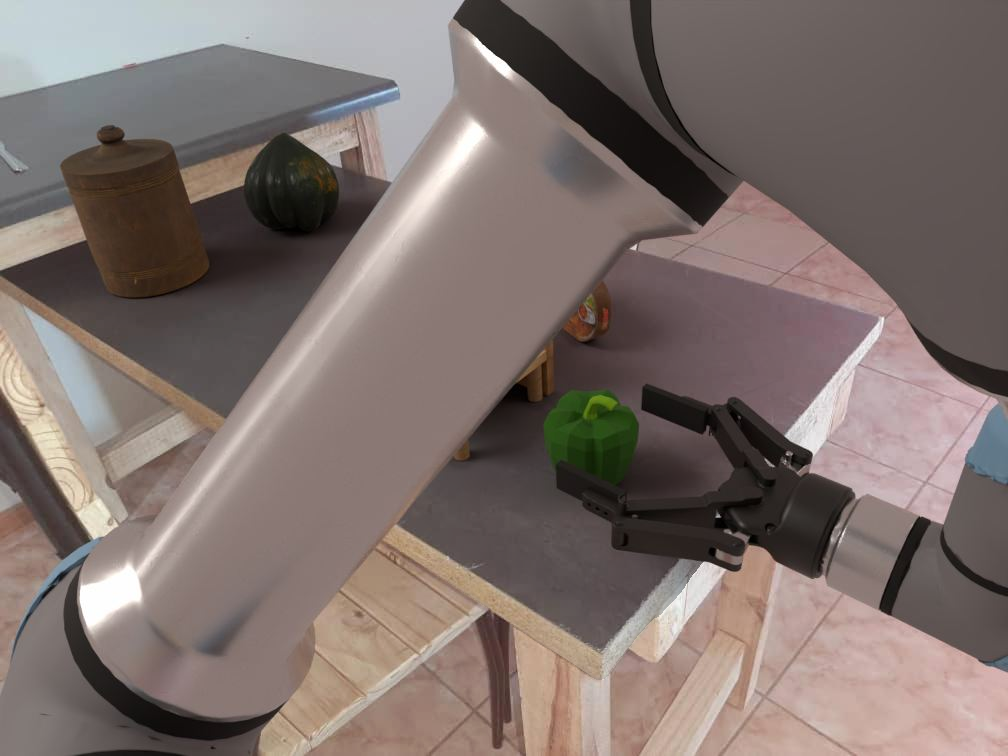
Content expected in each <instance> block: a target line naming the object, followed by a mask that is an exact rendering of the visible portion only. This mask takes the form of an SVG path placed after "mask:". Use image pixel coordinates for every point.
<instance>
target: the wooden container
mask: <svg viewBox="0 0 1008 756" xmlns="http://www.w3.org/2000/svg"><path fill="white" fill-rule="evenodd" d="M125 136H126V134H125V131H124V129H122V128H120V127H119V126H115V125H114V124H107V125H104V126H101V127H100V129H98V130H97V131H96V139H97V140H98V141H99V142H100V143H101V144H98V145H95V146H92V147H88V148H85V149H82V150H80V151H77V152H75V153H72V154H71V155H69V156H67V157H66V158H64V159H63V160H62V162H61V163H60V164H59V168H60V172H61V174H62V177H63V179H64V182H65V184H66V187H67V189H68V192H69V195H70V198H71V201H72V203H73V206H74V210H75V212H76V214H77V217H78V221H79V223H80V226H81V228H82V231H83V235H84V237H85V239H86V242H87V245H88V248H89V250H90V253H91V255H92V257H93V261H94V262H95V265H96V267H97V269H98V272H99V274H100V277H101V279H102V282H103V284H104V286H105V289H106V290H107V291H108V292H109V293H110V294H112V295H114V296H118V297H123V298H149V297H156V296H159V295H160V296H161V295H164V294H168V293H171V292H175V291H177V290H180V289H183V288H185V287H187V286H189V285H191V284H193V283H194V282H196V281H198V280H199V279H200V278H202V277H203V276H204V275H205V274H206V273H207V272H208V270H209V268H210V259H209V257H208V254H207V249H206V247H205V245H204V242H203V241H204V240H203V237H202V234H201V231H200V227H199V224H198V220H197V217H196V215H195V211H194V209H193V205H192V203H191V201H190V198H189V195H188V192H187V189H186V185H185V183H184V180H183V177H182V174H181V170H180V166H179V162H178V158H177V155H176V152H175V149H174V147H173V145H172V144H171V142H169V141H166V140H163V139H157V138H134V139H132V138H131V139H124V138H125Z"/></svg>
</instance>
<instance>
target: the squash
mask: <svg viewBox="0 0 1008 756" xmlns="http://www.w3.org/2000/svg"><path fill="white" fill-rule="evenodd" d="M243 198H244V200H245V203H246V206H247V208H248V209H249V211H250V213H251V215H252V216H253V218H254V219H255V220H256V221H257V222H258V223H260V224H261V225H262V226H264V227H265V228H268V229H273V230H283V229H286V228H288V229H294V228H296V227H297V226H298V227H299V229H301V230H302V231H305V232H313V231H315V230H316V229H318V227H319V226H320V225H324V224H326V223H328V222H329V221H331V220H332V219H333V217H334V215H335V214H336V211H337V208H338V205H339V201H340V184H339V181H338V178H337V174H336V172H335V169H334V168H333V167H332V165H331V164H330V163H329V161H327V160H326V158H324V157H323V156H321V155H320V154H319V153H318V152H316V151H315V150H313V149H311V148H310V147H308V146H307V145H305V144H304V143H302V142H301V141H300V140H298V139H297V138H296V137H294V136H292V135H290V134H288V133H287V132H283V131H282V132H281V133H280V134H278V135H275V136H274V137H273V138H272V139H271V140H270V141H269V142H267V144H266V145H265V146H264V147H263V148H262V149H260V151H259V152H258V153H257V154H256V156H255V157H254V158H253V160H252V162H251V163H250V165H249V166H248V169H247V170H246V173H245V177H244V183H243Z"/></svg>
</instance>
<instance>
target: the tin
mask: <svg viewBox="0 0 1008 756" xmlns="http://www.w3.org/2000/svg"><path fill="white" fill-rule="evenodd" d="M611 322H612V299H611V295H610V292H609V290H608V287H607V285H606V283H605V282H604V279H603V280H602V281H601V283H600V284H599V285H598V286H597V287H596V289H595V290H594V291H593V292H592V293H591V294H590V296H589V297H588V298H587V299H586V300H585V302H584V303H583V304H582V305H581V306H580V307H579V309H578V310H577V311H576V312H575V313H574V315H573V316H572V317H571V318H570V319H569V320H568V322H567V323H566V324H565V325H564V326H563V328H562V329H563V330H564V331H565V332H566V333H568V334H569V335H570V336H571V337H573V338H574V339H575V340H577V341H578V342H582V343H587V342H589V341H590V340H595V339H597V338H600V337H602V336H604V335H606V334H607V333H608V331H609V330H610V327H611Z"/></svg>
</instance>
